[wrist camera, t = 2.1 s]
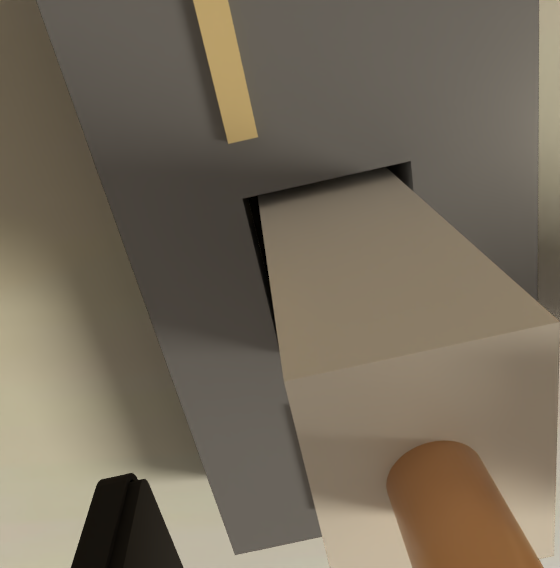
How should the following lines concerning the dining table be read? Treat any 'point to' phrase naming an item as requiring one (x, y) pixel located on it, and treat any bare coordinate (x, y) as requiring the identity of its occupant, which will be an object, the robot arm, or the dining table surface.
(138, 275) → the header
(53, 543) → the dining table surface
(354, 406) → the plug
